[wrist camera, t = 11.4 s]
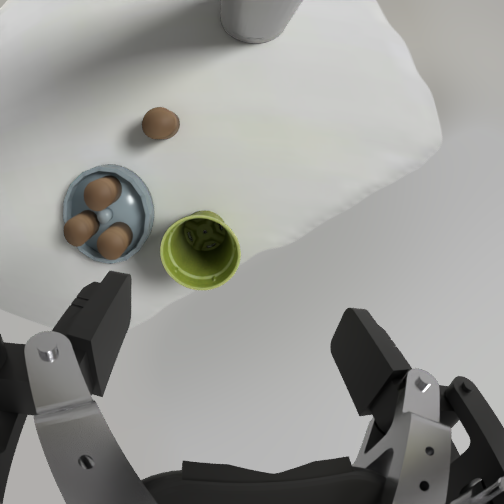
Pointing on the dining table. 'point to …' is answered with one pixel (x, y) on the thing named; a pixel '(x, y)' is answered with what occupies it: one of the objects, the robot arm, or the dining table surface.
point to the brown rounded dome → (102, 192)
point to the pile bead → (160, 123)
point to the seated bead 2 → (114, 240)
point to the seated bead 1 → (81, 228)
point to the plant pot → (200, 251)
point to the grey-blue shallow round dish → (113, 209)
